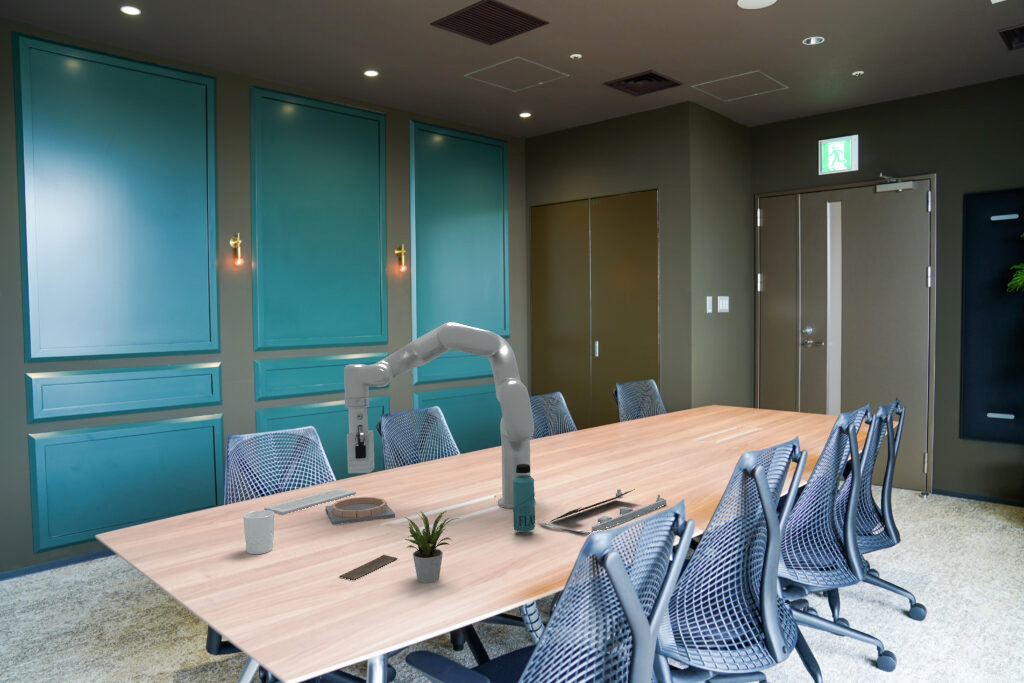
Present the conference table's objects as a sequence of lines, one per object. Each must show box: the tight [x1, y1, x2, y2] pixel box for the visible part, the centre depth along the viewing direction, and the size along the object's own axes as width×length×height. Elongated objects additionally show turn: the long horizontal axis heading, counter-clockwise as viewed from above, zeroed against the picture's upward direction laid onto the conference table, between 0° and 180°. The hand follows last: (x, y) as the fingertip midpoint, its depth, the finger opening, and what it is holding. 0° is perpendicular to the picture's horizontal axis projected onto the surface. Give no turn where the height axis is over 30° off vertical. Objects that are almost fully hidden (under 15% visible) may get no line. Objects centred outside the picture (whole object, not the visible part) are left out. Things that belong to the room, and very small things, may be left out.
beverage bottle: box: [512, 464, 536, 533], centre depth 196 cm, size 6×7×20 cm
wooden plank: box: [338, 554, 398, 581], centre depth 171 cm, size 17×1×5 cm
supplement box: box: [346, 430, 375, 474], centre depth 220 cm, size 7×7×13 cm
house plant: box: [401, 510, 461, 584], centre depth 163 cm, size 14×14×16 cm
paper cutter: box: [538, 488, 667, 535], centre depth 213 cm, size 18×45×6 cm, turn 136°
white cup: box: [242, 509, 275, 555], centre depth 185 cm, size 8×8×10 cm
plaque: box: [263, 487, 357, 516], centre depth 235 cm, size 30×2×10 cm
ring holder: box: [325, 496, 396, 525], centre depth 220 cm, size 19×19×3 cm
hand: (358, 455), depth 220 cm, fingers closed on supplement box, 9 cm apart
